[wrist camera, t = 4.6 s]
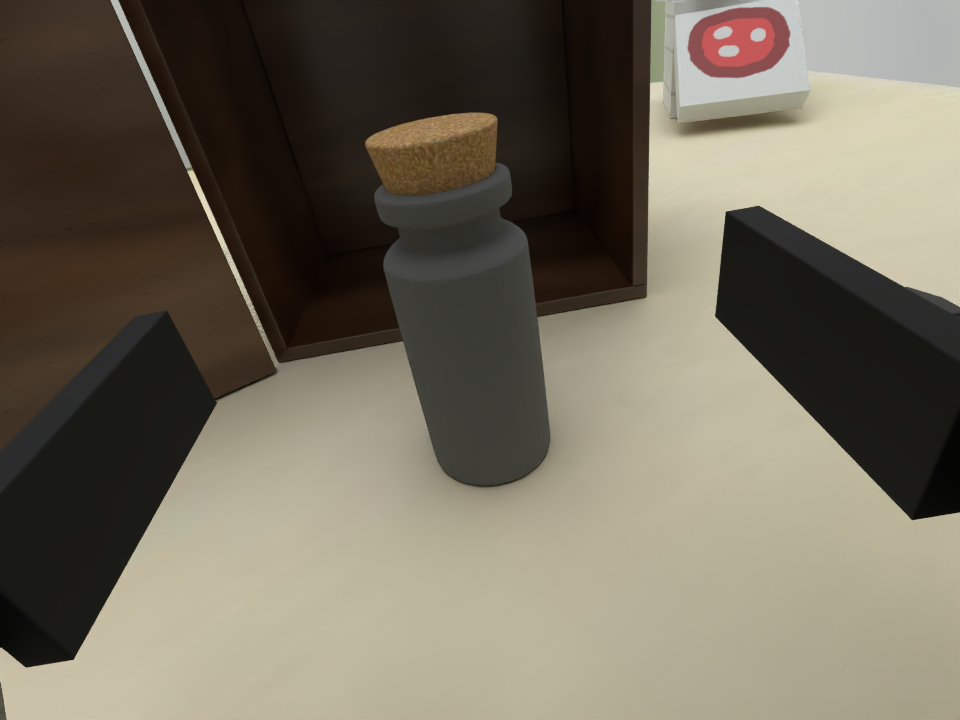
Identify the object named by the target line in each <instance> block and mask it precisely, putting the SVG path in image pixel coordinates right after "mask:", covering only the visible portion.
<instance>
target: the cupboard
mask: <svg viewBox="0 0 960 720" xmlns="http://www.w3.org/2000/svg"><path fill="white" fill-rule="evenodd" d="M119 3H120V5H121V7H122V10H123V12H124V14H125V16H126V19H127V21H128V23H129V25H130V28H131V30H132V32H133V34H134V37H135V39H136V41H137V43H138V46H139V48H140V50H141V53H142V55H143V57H144V59H145V62H146V64H147V66H148V68H149V71H150V73H151V75H152V78H153V80H154V82H155V84H156V87H157V89H158V91H159V93H160V96H161V98H162V100H163V102H164V105H165V107H166V109H167V111H168V114H169V116H170V118H171V121H172V123H173V125H174V127H175V129H176V132H177V134H178V136H179V139H180V141H181V143H182V145H183V148H184V150H185V152H186V155H187V156H188V159H189V161H190V164H191V166H192V168H193V170H194V173H195V175H196V177H197V179H198V182H199V184H200V186H201V188H202V191H203V193H204V195H205V198H206V200H207V202H208V204H209V207H210V209H211V211H212V213H213V216H214V218H215V220H216V222H217V225H218V227H219V229H220V232H221V234H222V236H223V238H224V241H225V243H226V245H227V247H228V250H229V252H230V254H231V256H232V259H233V261H234V263H235V265H236V268H237V270H238V272H239V275H240V277H241V279H242V281H243V284H244V286H245V288H246V290H247V293H248V295H249V297H250V299H251V302H252V304H253V306H254V309H255V311H256V313H257V315H258V318H259V320H260V322H261V324H262V327H263V329H264V331H265V333H266V336H267V338H268V340H269V342H270V345H271V347H272V349H273V351H274V353H275V356H276V358H277V360H278V362H284V361H289V360H295V359H301V358H306V357H312V356H317V355H323V354H329V353H334V352H340V351H345V350H351V349H357V348H362V347H368V346H373V345H379V344H385V343H390V342H396V341H401V340H403V338H402V335H401V331H400V328H399V324H398V320H397V317H396V313H395V310H394V306H393V302H392V299H391V295H390V291H389V288H388V284H387V280H386V276H385V272H384V258H385V256H386V253H387V252H388V250H389V249H390V247H391V246H392V245H393V244H394V243H395V242H396V241H397V240H398V239H399V238H400V235H399V231H398V227H392V226H389V225H387V224H385V223H383V222H382V221H381V219H380V217H379V214H378V211H377V208H376V204H375V200H374V195H375V192H376V190H377V189H378V188H379V187H380V186H381V185H383V182H382V180H381V178H380V176H379V174H378V172H377V170H376V167H375V165H374V163H373V161H372V159H371V157H370V155H369V153H368V150H367V148H366V146H365V142H366V140H367V139H368V138H369V137H371V136H372V135H374V134H376V133H378V132H381V131H383V130H386V129H389V128H391V127H394V126H398V125H401V124H405V123H409V122H413V121H418V120H422V119H426V118H432V117H438V116H444V115H451V114H461V113H489V114H492V115H494V116H496V117H497V120H498V121H497V139H496V158H495V162H496V163H501V164H503V165H505V166H506V167H507V168H508V169H509V172H510V176H511V184H512V196H511V197H510V199H509V200H508V202H506V203H505V204H504V205H502V206H501V207H500V208H499V210H500V216H501V218H502V219H505V220H507V221H510V222H512V223H513V224H515V225H516V226H518V227H519V228H520V229H521V230H522V231H523V232H524V233H525V235H526V237H527V241H528V247H529V255H530V263H531V270H532V278H533V286H534V294H535V303H536V312H537V316H541V315H547V314H553V313H558V312H564V311H569V310H575V309H581V308H586V307H592V306H597V305H603V304H609V303H614V302H620V301H625V300H631V299H637V298H642V297H646V296H647V244H648V180H649V115H650V46H651V0H119Z"/></svg>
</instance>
